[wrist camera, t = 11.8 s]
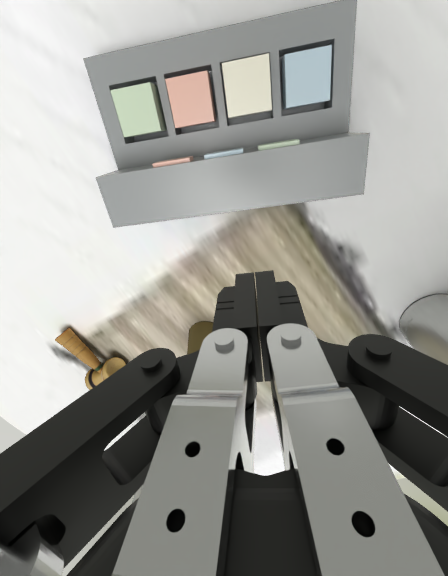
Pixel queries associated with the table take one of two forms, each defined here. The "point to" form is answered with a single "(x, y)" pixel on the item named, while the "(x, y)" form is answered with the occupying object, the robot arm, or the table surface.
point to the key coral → (191, 99)
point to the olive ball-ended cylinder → (198, 335)
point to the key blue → (306, 77)
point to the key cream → (247, 86)
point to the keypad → (233, 124)
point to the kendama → (89, 359)
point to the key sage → (139, 109)
